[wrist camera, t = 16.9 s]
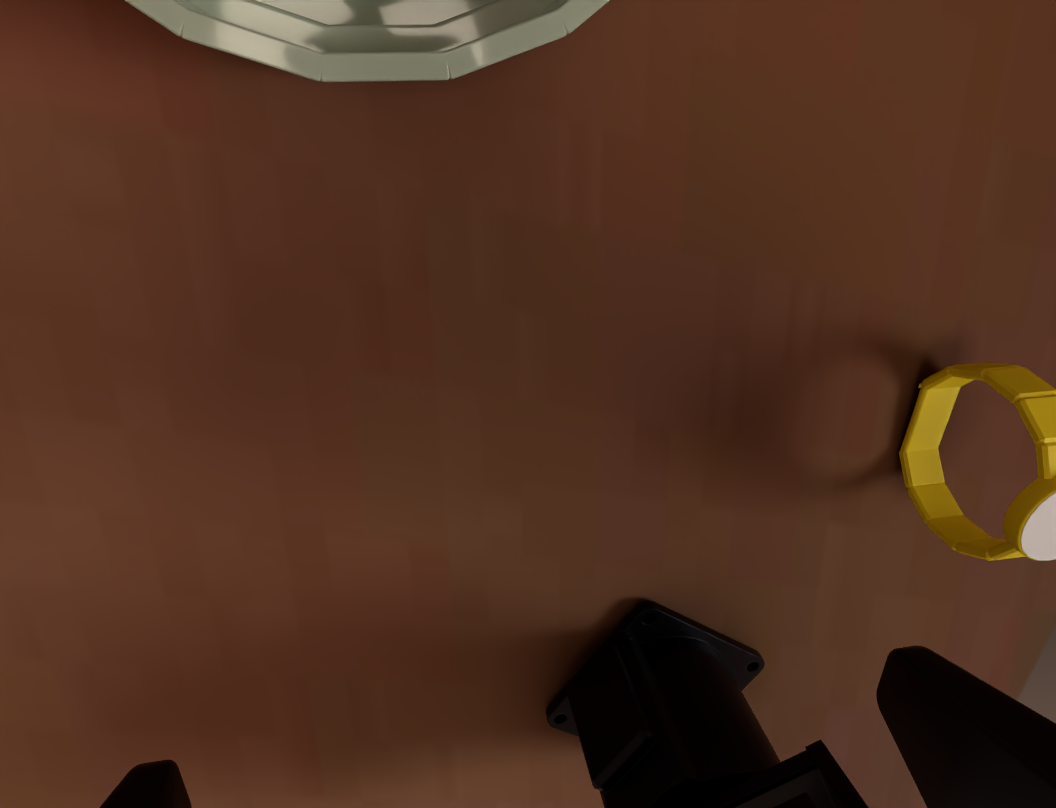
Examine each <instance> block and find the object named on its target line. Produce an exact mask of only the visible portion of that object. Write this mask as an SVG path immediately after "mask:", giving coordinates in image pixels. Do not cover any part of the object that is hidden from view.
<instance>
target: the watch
mask: <svg viewBox="0 0 1056 808" xmlns="http://www.w3.org/2000/svg"><path fill="white" fill-rule="evenodd" d="M973 380H980V381H985V382H986V383H987V384H989V385H990V386H991V387H992V388H994V389H995V390H996V391H997V392H999V393H1000V394H1001V395H1003V396H1004V397H1005V398H1006V399H1008V400H1009V401H1010V402H1011V403H1013V404H1014V405H1015V407H1016V408H1017V410H1018V412H1019V414H1020V416H1021V418H1022V420H1023V422H1024V424H1025V426H1026V428H1027V430H1028V431H1029V433H1030V435H1031V437H1032V439H1033V441H1034V443H1035V444H1036V456H1037V467H1038V479H1036V480H1035V481H1033V482H1032V483H1031V484H1029V485H1028V486H1027V487H1025V488H1024V489H1023V490H1022V491H1021V492H1020V493H1019V494H1018V495H1017V497H1016V498H1015V499H1014V500H1013V501H1012V502H1011V504H1010V506H1009V508H1008V510H1007V511H1006V513H1005V516H1004V520H1003V525H1002V528H1003V533H1004V537H1005V539H1006V540H1003V539H998V538H993V537H990V536H989V535H988V534H987V533H985V532H984V531H983V530H982V529H980V528H979V527H978V526H977V525H975V524H974V523H973V522H972V521H970V520H969V519H968V518H967V517H965V516H964V515H963V513H962V511H961V510H960V508H959V506H958V505H957V503H956V501H955V500H954V498H953V496H952V494H951V493H950V491H949V489H948V488H947V486H946V484H945V481H944V476H943V471H942V466H941V461H940V456H939V452H938V446H939V444H940V441H941V438H942V436H943V433H944V430H945V428H946V425H947V422H948V419H949V417H950V414H951V411H952V409H953V406H954V403H955V401H956V398H957V395H958V393H959V390H960V387H961V386H963V385H965V384H967V383H969V382H971V381H973ZM918 388H921V389H920V392H919V395H918V398H917V401H916V404H915V407H914V411H913V414H912V417H911V420H910V423H909V425H908V428H907V431H906V434H905V437H904V440H903V443H902V446H901V449H900V451H899V456H900V461H901V467H902V472H903V477H904V482H905V487H906V488H908V491H907V492H908V494H909V496H910V498H911V499H912V501H913V503H914V505H915V507H916V509H917V510H918V512H919V514H920V516H921V518H922V519H923V521H924V523H925V524H928V525H927V527H928V528H929V529H930V530H932V531H933V532H934V533H935V534H936V535H937V536H938V537H940V538H941V539H942V540H943V541H944V542H945V543H946V544H948V545H949V546H950V547H951V548H952V549H953V550H956V551H958V552H959V553H961V554H965V555H969V556H973V557H977V558H981V559H985V560H989V561H991V560H1002V559H1009V558H1016V557H1023V556H1025V557H1028V558H1030V559H1033V560H1053V559H1056V389H1055V388H1053V387H1052V386H1050V385H1049V384H1048V383H1046V382H1045V381H1043V380H1042V379H1041V378H1039V377H1038V376H1036V375H1035V374H1034V373H1032V372H1031V371H1029V370H1028V369H1027V368H1022V367H1021V366H1020V365H1011V364H1001V363H991V362H983V363H972V364H960V365H953V366H948V367H946V368H944V369H942V370H940V371H939V372H937V373H935V374H933V375H931V376H930V377H928V378H926V379H924V380H923V382H922V383H919V387H918Z"/></svg>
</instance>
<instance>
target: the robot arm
mask: <svg viewBox="0 0 1056 808" xmlns="http://www.w3.org/2000/svg"><path fill="white" fill-rule="evenodd" d="M647 614H650V615H649V616H647V617H644V616H646V615H647ZM764 664H765V663H764V660H763V658H762V657H761V655H760V654H759V652H757V651H756V650H754V649H752V648H750V647H748V646H746V645H744V644H742V643H739V642H737V641H735V640H733V639H731V638H729V637H727V636H725V635H723V634H720V633H718V632H716V631H714V630H712V629H710V628H708V627H706V626H704V625H702V624H699V623H697V622H695V621H693V620H691V619H689V618H687V617H685V616H683V615H681V614H678V613H676V612H674V611H672V610H670V609H668V608H666V607H664V606H662V605H659V604H657V603H655V602H652V601H644V602H642V603H640V604H638V605H637V606H636V607H635V608H634V609H633V610H632V612H631V613H630V614H629V615H628V616H627V617H626V618H625V620H624V621H623V622H622V623H621V624H620V625H619V626H618V628H617V629H616V630H615V631H614V632H613V633H612V634H611V636H610V637H609V638H608V639H607V640H606V641H605V642H604V644H603V645H602V646H601V647H600V648H599V649H598V650H597V651H596V653H595V654H594V655H593V656H592V657H591V658H590V659H589V661H588V662H587V663H586V664H585V665H584V666H583V667H582V669H581V670H580V671H579V672H578V673H577V674H576V675H575V677H574V678H573V679H572V680H571V681H570V682H569V683H568V685H567V686H566V687H565V688H564V689H563V690H562V691H561V693H560V694H559V695H558V696H557V697H556V698H555V699H554V701H553V702H552V703H551V704H550V705H549V706H548V708H547V709H546V716H547V720H548V723H549V725H550V726H552V727H553V728H556V729H559V730H562V731H565V732H568V733H570V734H573V735H576V736H579V739H580V742H581V746H582V749H583V753H584V757H585V760H586V764H587V767H588V771H589V774H590V778H591V781H592V785H593V787H594V788H595V789H598V790H600V794H601V797H602V801H603V804H604V807H605V808H868V806H867V805H866V803H865V802H864V801H863V799H862V798H861V796H860V795H859V793H858V792H857V791H856V789H855V788H854V786H853V785H852V783H851V782H850V781H849V779H848V778H847V776H846V775H845V773H844V772H843V771H842V769H841V768H840V766H839V765H838V763H837V762H836V761H835V759H834V758H833V756H832V755H831V753H830V752H829V751H828V749H827V748H826V746H825V745H824V743H823V742H822V741H821V740H819V741H817V742H814V743H812V744H810V745H808V746H806V747H805V748H806V750H805V751H803V752H801V753H799V754H797V755H795V756H793V757H791V758H789V759H787V760H784V761H782V762H780V760H779V758H778V756H777V755H776V753H775V751H774V749H773V747H772V746H771V744H770V742H769V740H768V738H767V737H766V735H765V733H764V731H763V729H762V728H761V726H760V724H759V722H758V720H757V719H756V717H755V715H754V713H753V711H752V710H751V708H750V706H749V704H748V702H747V701H746V699H745V697H744V695H743V693H742V692H741V691H742V690H743V689H744V688H745V687H746V686H747V685H748V684H749V683H750V682H751V681H752V680H753V679H754V678H755V677H756V676H757V675H758V674H759V673H760V671H761V670H762V669H763V668H764ZM877 703H878V706H879V709H880V711H881V714H882V716H883V718H884V720H885V722H886V724H887V726H888V728H889V730H890V732H891V734H892V736H893V738H894V740H895V742H896V744H897V746H898V748H899V750H900V752H901V754H902V756H903V759H904V761H905V763H906V765H907V767H908V769H909V771H910V773H911V775H912V777H913V779H914V781H915V783H916V785H917V787H918V789H919V791H920V793H921V795H922V797H923V799H924V801H925V803H926V806H927V807H928V808H1056V723H1054V722H1052V721H1050V720H1049V719H1047V718H1045V717H1043V716H1042V715H1040V714H1039V713H1037V712H1035V711H1033V710H1032V709H1030V708H1028V707H1027V706H1025V705H1023V704H1022V703H1020V702H1018V701H1017V700H1015V699H1013V698H1011V697H1010V696H1008V695H1006V694H1005V693H1003V692H1001V691H1000V690H998V689H996V688H994V687H993V686H991V685H989V684H988V683H986V682H984V681H983V680H981V679H979V678H978V677H976V676H974V675H972V674H971V673H969V672H967V671H966V670H964V669H962V668H961V667H959V666H957V665H955V664H954V663H952V662H950V661H949V660H947V659H945V658H944V657H942V656H940V655H939V654H937V653H935V652H933V651H932V650H930V649H928V648H926V647H923V646H910V647H903V648H897V649H894V650H892V651H891V652H890V653H889V655H888V657H887V660H886V663H885V666H884V669H883V672H882V675H881V678H880V681H879V684H878V688H877ZM100 808H191V802H190V799H189V796H188V793H187V791H186V788H185V785H184V782H183V779H182V776H181V774H180V771H179V768H178V766H177V764H176V763H175V762H174V761H172V760H162V761H155V762H149V763H142V764H139V765H137V766H135V767H134V768H132V769H131V770H130V771H129V772H128V773H127V774H126V776H125V777H124V778H123V779H122V781H121V782H120V783H119V784H118V786H117V787H116V788H115V789H114V790H113V792H112V793H111V794H110V795H109V797H108V798H107V799H106V800H105V802H104V803H103V804H102V805H101V806H100Z"/></svg>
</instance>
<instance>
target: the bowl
mask: <svg viewBox="0 0 1056 808" xmlns="http://www.w3.org/2000/svg"><path fill="white" fill-rule="evenodd" d="M124 1H125V2H127V3H128V4H130V5H132V6H133V7H135V8H136V9H138V10H139V11H141V12H142V13H144V14H145V15H147V16H148V17H150V18H151V19H153V20H154V21H156V22H157V23H159V24H160V25H162V26H163V27H165V28H166V29H168V30H169V31H171V32H172V33H174V34H175V35H177V36H181V37H182V38H183V39H185V40H188V41H192V42H195V43H198V44H201V45H204V46H207V47H210V48H214V49H217V50H220V51H223V52H226V53H229V54H233V55H236V56H239V57H242V58H245V59H248V60H252V61H255V62H258V63H261V64H264V65H267V66H271V67H274V68H277V69H280V70H283V71H286V72H289V73H293V74H296V75H299V76H302V77H305V78H308V79H312V80H315V81H322V82H369V81H432V80H449V78H450V79H455V78H457V77H460V76H463V75H465V74H468V73H471V72H473V71H476V70H478V69H481V68H484V67H486V66H489V65H492V64H494V63H497V62H499V61H502V60H505V59H507V58H510V57H513V56H515V55H518V54H521V53H523V52H526V51H528V50H531V49H534V48H536V47H539V46H542V45H544V44H547V43H549V42H552V41H555V40H557V39H560V38H563V37H565V36H566V35H567V34H570V33H571V32H573V31H574V30H575V29H576V28H577V27H579V26H580V25H581V24H582V23H583V22H585V21H586V20H587V19H588V18H589V17H591V16H592V15H593V14H594V13H595V12H597V11H598V10H599V9H600V8H601V7H603V6H604V5H605V4H606V3H607V2H609V1H610V0H124Z"/></svg>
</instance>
